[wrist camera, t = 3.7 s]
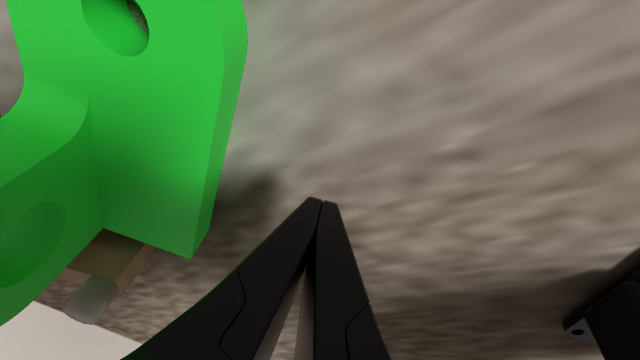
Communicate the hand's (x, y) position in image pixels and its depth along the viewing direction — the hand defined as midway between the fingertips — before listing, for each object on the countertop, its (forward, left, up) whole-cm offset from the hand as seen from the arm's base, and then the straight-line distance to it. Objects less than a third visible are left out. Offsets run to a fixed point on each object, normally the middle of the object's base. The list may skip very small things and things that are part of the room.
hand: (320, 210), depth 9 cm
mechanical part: (+7, 0, -4) cm, 8 cm away
